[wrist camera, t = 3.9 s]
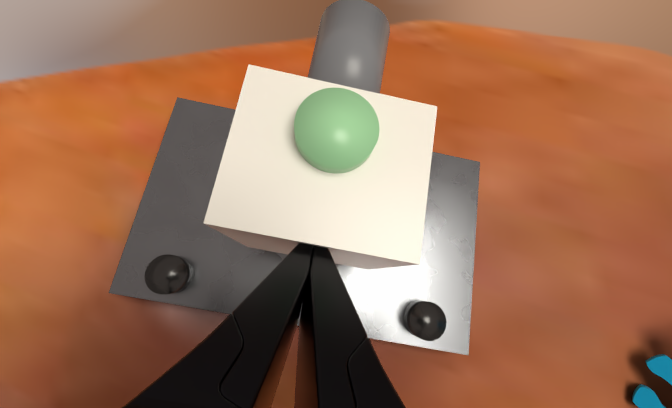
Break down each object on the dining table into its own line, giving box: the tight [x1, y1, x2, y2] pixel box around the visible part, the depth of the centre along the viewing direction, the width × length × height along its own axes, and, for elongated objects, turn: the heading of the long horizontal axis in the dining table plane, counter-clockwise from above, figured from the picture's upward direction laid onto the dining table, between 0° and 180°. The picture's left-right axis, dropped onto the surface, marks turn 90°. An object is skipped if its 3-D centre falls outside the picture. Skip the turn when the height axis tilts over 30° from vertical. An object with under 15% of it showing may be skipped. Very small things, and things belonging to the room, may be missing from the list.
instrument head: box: [204, 0, 437, 270], centre depth 13 cm, size 10×6×9 cm, turn 170°
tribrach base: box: [109, 97, 480, 355], centre depth 19 cm, size 12×20×3 cm, turn 80°
